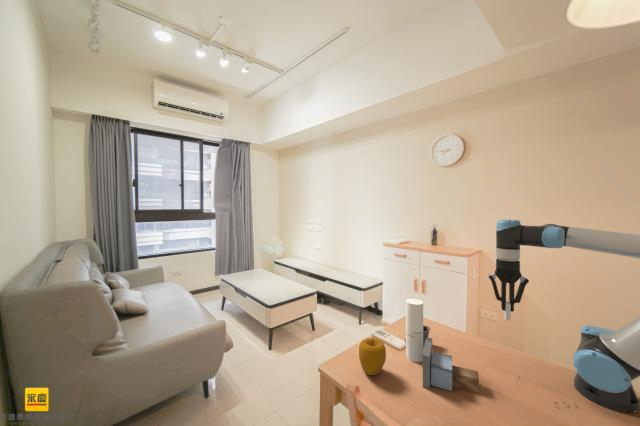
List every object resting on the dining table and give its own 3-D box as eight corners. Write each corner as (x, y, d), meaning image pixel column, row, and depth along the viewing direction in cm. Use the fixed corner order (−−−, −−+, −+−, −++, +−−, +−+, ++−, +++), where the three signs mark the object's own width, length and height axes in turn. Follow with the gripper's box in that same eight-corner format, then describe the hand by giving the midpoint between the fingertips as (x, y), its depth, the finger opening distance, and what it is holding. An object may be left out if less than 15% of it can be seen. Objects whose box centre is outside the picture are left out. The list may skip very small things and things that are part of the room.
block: (452, 374, 99) (452, 355, 99) (452, 391, 90) (452, 370, 90) (432, 369, 102) (432, 351, 102) (430, 384, 93) (430, 365, 93)
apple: (384, 383, 95) (384, 350, 95) (356, 377, 98) (356, 345, 98) (387, 366, 105) (386, 335, 105) (361, 361, 109) (361, 332, 108)
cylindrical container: (424, 363, 107) (424, 305, 107) (407, 361, 108) (407, 303, 108) (421, 353, 114) (421, 299, 114) (405, 351, 115) (404, 298, 115)
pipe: (403, 344, 122) (403, 327, 122) (425, 339, 126) (425, 324, 126) (411, 350, 116) (411, 333, 116) (433, 346, 120) (433, 329, 120)
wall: (432, 367, 104) (432, 338, 104) (429, 388, 92) (429, 356, 92) (425, 365, 105) (425, 337, 105) (422, 386, 93) (422, 354, 93)
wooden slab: (477, 384, 94) (477, 371, 94) (479, 393, 90) (479, 379, 90) (436, 373, 101) (436, 361, 100) (436, 381, 96) (436, 368, 96)
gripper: (526, 258, 98) (525, 318, 99) (486, 256, 104) (486, 312, 105) (531, 262, 92) (531, 326, 92) (489, 259, 98) (488, 319, 98)
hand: (507, 318), depth 99 cm, fingers closed
